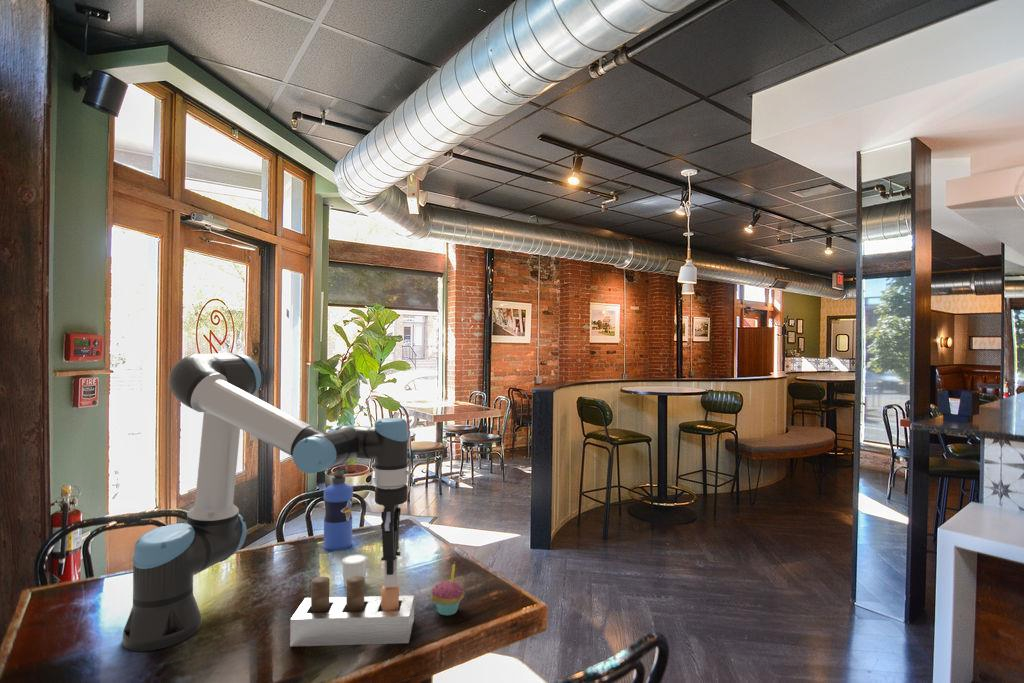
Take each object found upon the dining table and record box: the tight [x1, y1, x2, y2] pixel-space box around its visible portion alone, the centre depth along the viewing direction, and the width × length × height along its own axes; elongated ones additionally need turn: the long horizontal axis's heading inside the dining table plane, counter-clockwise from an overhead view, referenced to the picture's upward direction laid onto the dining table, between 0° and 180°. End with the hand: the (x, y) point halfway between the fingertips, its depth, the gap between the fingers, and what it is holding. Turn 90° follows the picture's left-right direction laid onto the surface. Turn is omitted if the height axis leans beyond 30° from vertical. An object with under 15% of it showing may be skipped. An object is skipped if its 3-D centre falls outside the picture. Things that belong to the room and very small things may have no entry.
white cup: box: [341, 553, 368, 588], centre depth 149 cm, size 7×7×7 cm
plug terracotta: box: [380, 583, 400, 611], centre depth 124 cm, size 4×4×7 cm
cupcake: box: [430, 561, 466, 616], centre depth 133 cm, size 9×8×12 cm
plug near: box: [310, 576, 331, 613], centre depth 123 cm, size 4×4×7 cm
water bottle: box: [323, 469, 354, 552], centre depth 177 cm, size 9×9×25 cm
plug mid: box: [345, 576, 365, 612], centre depth 123 cm, size 4×4×7 cm
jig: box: [289, 595, 415, 648], centre depth 123 cm, size 26×10×6 cm, turn 94°
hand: (390, 586), depth 124 cm, fingers closed
